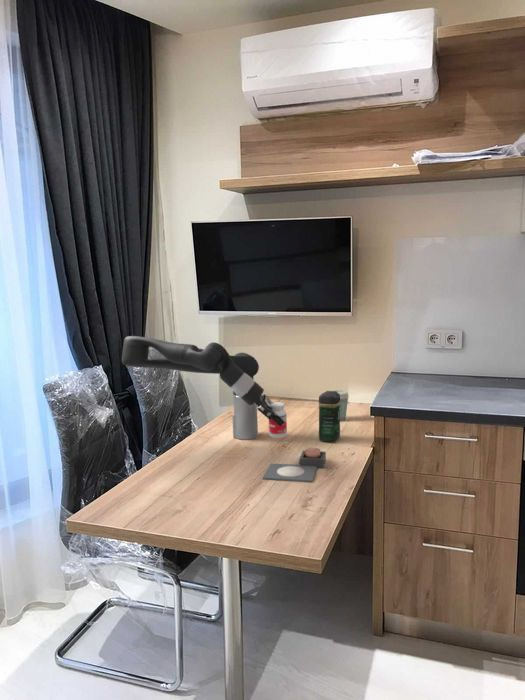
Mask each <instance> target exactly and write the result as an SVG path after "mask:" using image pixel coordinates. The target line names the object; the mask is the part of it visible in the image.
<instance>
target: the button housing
mask: <svg viewBox="0 0 525 700" xmlns="http://www.w3.org/2000/svg"><path fill="white" fill-rule="evenodd" d="M326 458H327V452H326V451H322V450H320V457H318V458H308V457H306V456H305V450H302V452H301V454H300V457H299V458H298V460H299V461H298V463H299V464H298V465H304V466H317V469H324V466H325V463H326V460H327V459H326Z"/></svg>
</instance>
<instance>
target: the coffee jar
mask: <svg viewBox="0 0 525 700" xmlns="http://www.w3.org/2000/svg"><path fill="white" fill-rule="evenodd" d="M340 438H341V421H340V394H339V393H337V392H336V391H335V390H326V391H324V392H323V393H321V394H320V395H319V396H318V440H319V441H322V442H325V443H333V442H335V443H336V442H337V441H339V439H340Z"/></svg>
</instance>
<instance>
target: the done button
mask: <svg viewBox="0 0 525 700" xmlns="http://www.w3.org/2000/svg"><path fill="white" fill-rule="evenodd" d="M304 451H305V456H306V457H308V458H318V457H320V451H321V449H320V448H319V447H315V446H314V447H307V448H305V449H304Z"/></svg>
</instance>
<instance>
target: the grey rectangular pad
mask: <svg viewBox="0 0 525 700" xmlns="http://www.w3.org/2000/svg"><path fill="white" fill-rule="evenodd" d="M317 469H318V468H317V466H304V465H299V464H294V463H293V464H291V463H275V462H274V463H272V462H270V464H269V466H268V468H267V469H266V471H265V473H264V475H263V476H262V480H269V481H270V480H271V481H283V482H298V483H299V482H300V483H301V482H304V483H313V481H314V478H315V475H316V472H317Z"/></svg>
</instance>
